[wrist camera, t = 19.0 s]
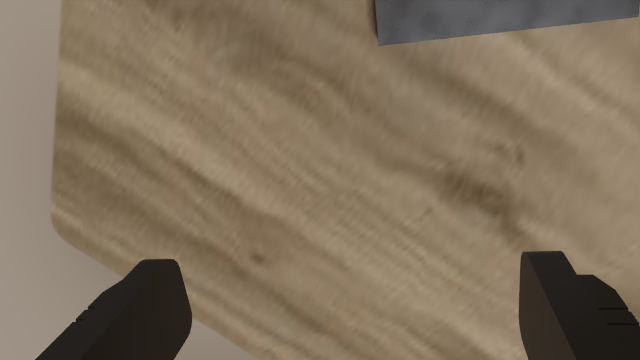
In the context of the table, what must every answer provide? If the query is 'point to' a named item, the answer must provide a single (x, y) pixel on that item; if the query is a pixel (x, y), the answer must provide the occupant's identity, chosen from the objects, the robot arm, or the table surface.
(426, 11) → the mounting plate
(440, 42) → the table surface
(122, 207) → the table surface
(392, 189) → the table surface
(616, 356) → the robot arm
